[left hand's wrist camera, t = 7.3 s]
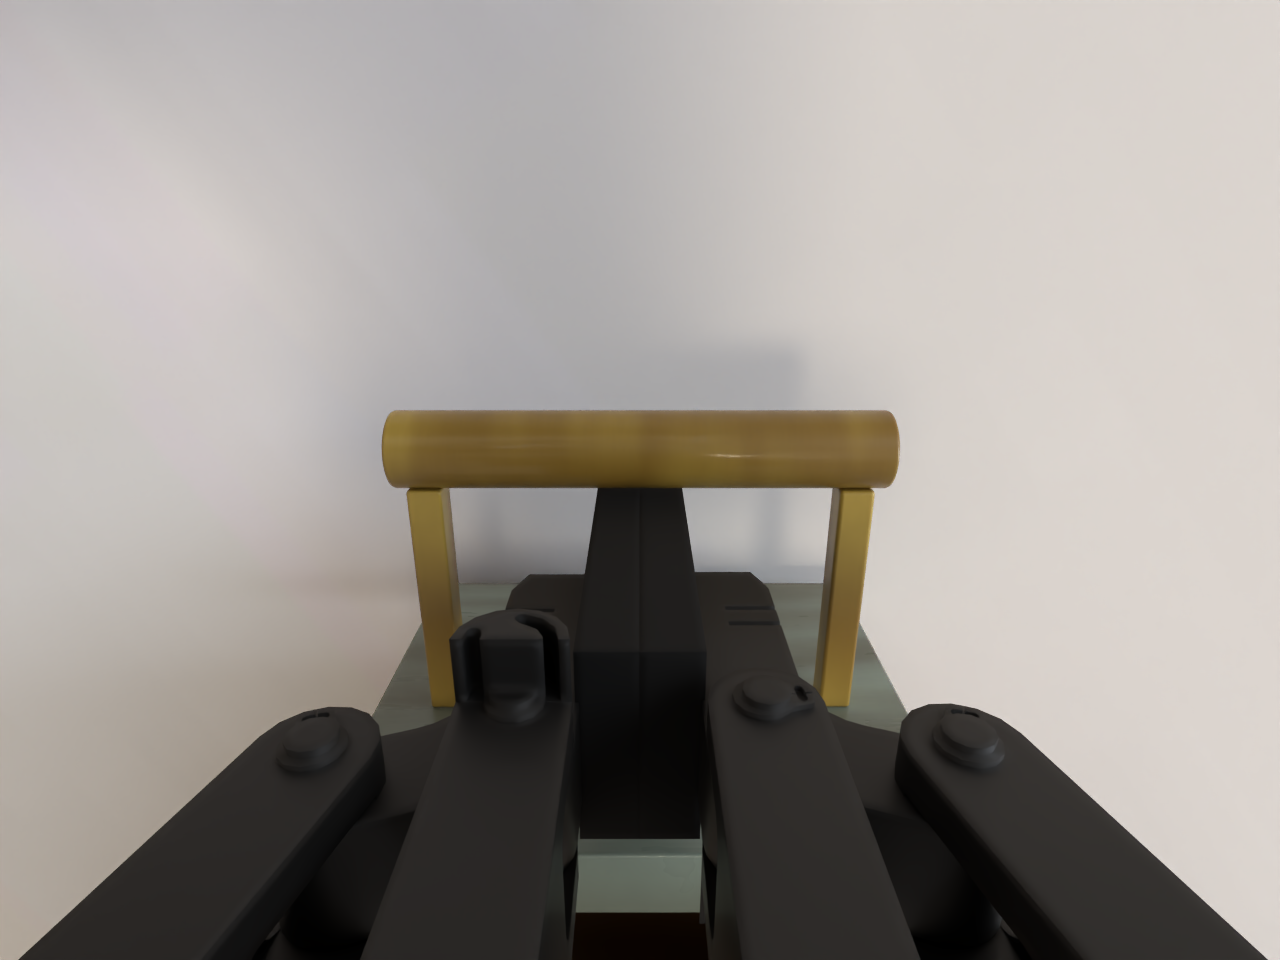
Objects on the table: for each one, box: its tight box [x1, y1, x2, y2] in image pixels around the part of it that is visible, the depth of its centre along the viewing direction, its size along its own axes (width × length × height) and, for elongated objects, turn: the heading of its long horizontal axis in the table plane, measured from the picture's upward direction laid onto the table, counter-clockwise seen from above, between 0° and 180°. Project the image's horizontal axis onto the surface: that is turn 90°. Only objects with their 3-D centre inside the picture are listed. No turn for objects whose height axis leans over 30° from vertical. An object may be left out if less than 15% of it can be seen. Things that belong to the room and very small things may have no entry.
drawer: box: [372, 410, 908, 960], centre depth 17 cm, size 25×10×8 cm, turn 0°
